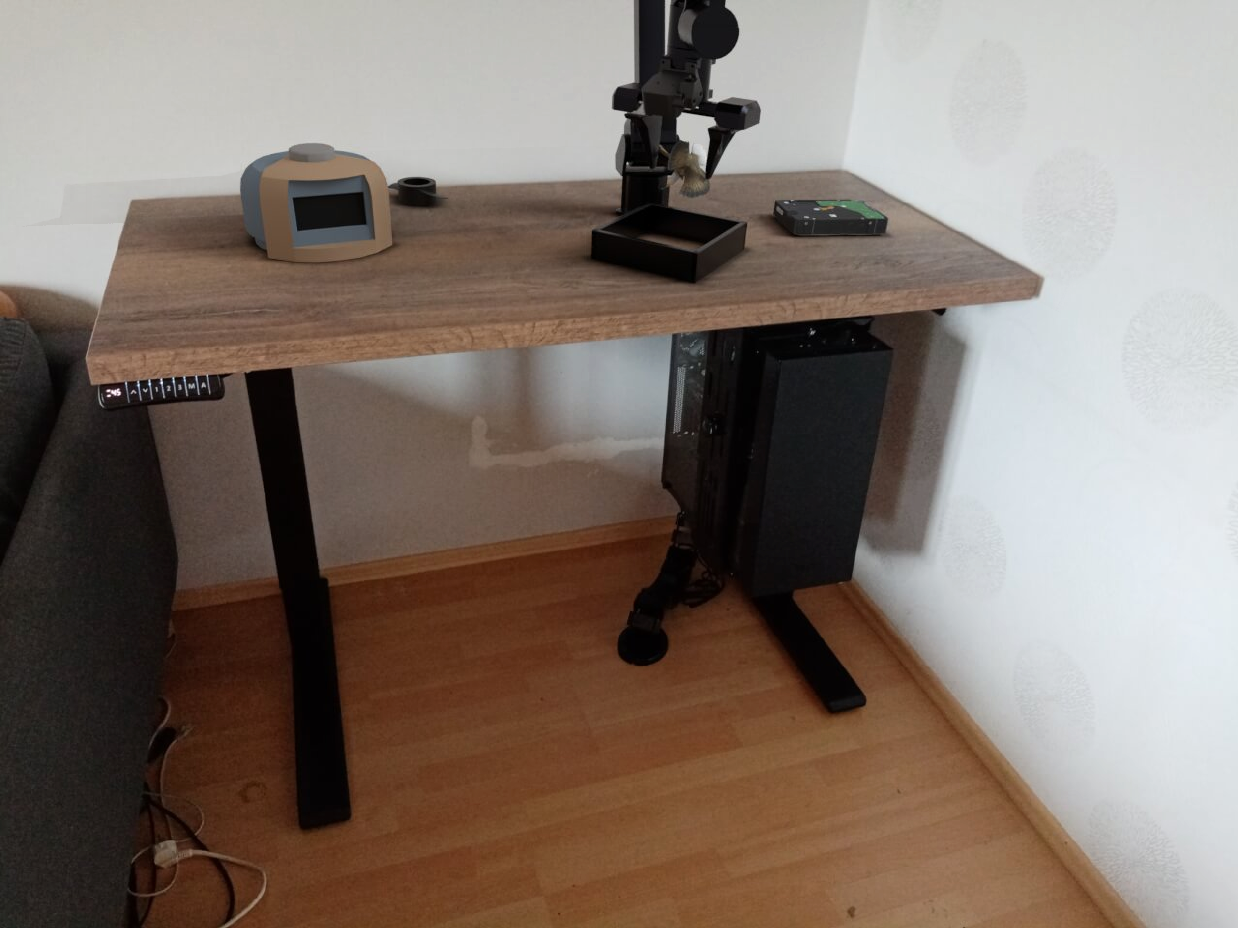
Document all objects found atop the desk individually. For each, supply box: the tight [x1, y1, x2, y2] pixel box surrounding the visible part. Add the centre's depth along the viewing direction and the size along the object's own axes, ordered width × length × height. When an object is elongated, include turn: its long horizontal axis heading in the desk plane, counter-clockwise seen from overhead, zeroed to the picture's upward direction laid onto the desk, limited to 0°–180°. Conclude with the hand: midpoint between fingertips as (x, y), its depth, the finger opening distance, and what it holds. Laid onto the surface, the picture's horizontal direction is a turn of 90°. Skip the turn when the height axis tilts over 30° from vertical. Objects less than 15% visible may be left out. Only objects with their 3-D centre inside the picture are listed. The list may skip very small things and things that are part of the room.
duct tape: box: [388, 176, 449, 207], centre depth 150 cm, size 8×10×3 cm
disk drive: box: [772, 199, 889, 236], centre depth 150 cm, size 10×3×15 cm
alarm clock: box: [239, 142, 393, 263], centre depth 131 cm, size 19×20×12 cm
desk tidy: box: [590, 202, 748, 284], centre depth 134 cm, size 16×17×4 cm
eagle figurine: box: [659, 139, 711, 199], centre depth 129 cm, size 8×7×9 cm
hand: (679, 173), depth 129 cm, fingers closed on eagle figurine, 8 cm apart
